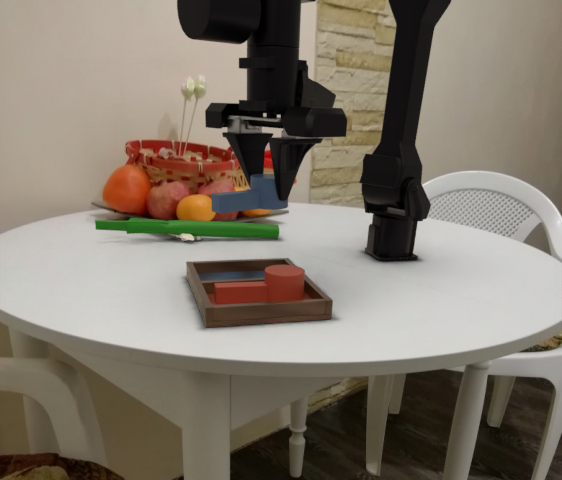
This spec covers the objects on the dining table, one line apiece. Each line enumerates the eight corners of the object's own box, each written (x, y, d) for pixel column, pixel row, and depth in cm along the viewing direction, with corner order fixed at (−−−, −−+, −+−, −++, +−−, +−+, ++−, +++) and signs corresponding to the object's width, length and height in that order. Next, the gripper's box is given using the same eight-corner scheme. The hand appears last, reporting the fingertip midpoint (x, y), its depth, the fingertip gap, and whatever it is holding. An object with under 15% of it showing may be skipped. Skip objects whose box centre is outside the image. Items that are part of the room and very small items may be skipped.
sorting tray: (287, 273, 76) (288, 257, 75) (331, 319, 60) (333, 300, 59) (186, 277, 72) (186, 261, 71) (205, 327, 57) (205, 307, 56)
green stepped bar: (274, 240, 97) (97, 234, 90) (275, 221, 95) (95, 213, 88) (280, 247, 93) (94, 241, 85) (281, 227, 91) (93, 220, 84)
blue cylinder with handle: (271, 201, 69) (271, 172, 68) (295, 207, 66) (296, 177, 65) (204, 209, 63) (203, 177, 62) (227, 216, 60) (227, 182, 59)
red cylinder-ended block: (297, 292, 66) (299, 263, 64) (307, 304, 62) (309, 275, 60) (213, 295, 64) (212, 266, 62) (217, 308, 60) (217, 278, 58)
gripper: (387, 51, 58) (371, 203, 65) (272, 56, 70) (270, 183, 77) (313, 42, 51) (304, 212, 58) (200, 49, 63) (204, 189, 70)
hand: (269, 197), depth 66 cm, fingers closed on blue cylinder with handle, 4 cm apart
